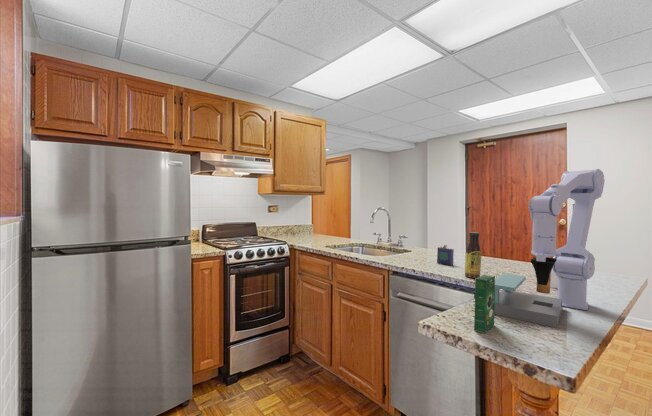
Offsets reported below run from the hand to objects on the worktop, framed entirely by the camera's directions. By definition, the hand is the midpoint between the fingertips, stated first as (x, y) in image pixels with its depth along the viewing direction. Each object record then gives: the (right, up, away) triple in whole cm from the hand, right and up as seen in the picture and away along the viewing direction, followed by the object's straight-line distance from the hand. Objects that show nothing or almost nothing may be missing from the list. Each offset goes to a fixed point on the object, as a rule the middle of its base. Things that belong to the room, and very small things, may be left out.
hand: (543, 283), depth 89 cm
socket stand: (-3, -9, +3) cm, 10 cm away
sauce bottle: (+2, -9, +47) cm, 48 cm away
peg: (0, -3, 0) cm, 2 cm away
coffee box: (-23, -9, -11) cm, 27 cm away
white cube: (+26, -9, +33) cm, 43 cm away
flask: (+1, -9, +77) cm, 77 cm away
